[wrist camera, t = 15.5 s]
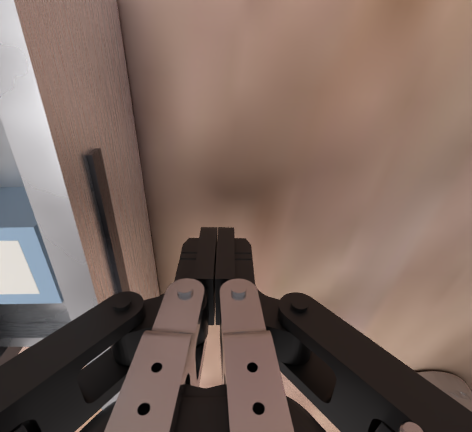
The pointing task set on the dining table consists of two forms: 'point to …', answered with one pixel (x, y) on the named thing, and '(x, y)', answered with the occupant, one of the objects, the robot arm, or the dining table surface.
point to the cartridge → (23, 254)
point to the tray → (73, 157)
